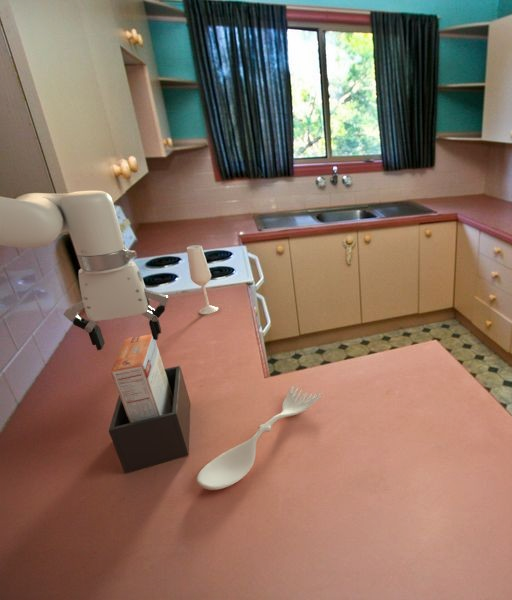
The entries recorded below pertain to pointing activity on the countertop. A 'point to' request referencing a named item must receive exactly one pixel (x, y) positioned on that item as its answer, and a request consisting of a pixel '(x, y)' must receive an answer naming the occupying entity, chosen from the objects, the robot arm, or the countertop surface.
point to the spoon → (248, 447)
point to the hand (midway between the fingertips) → (129, 341)
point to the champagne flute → (200, 273)
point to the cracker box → (142, 379)
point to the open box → (154, 430)
